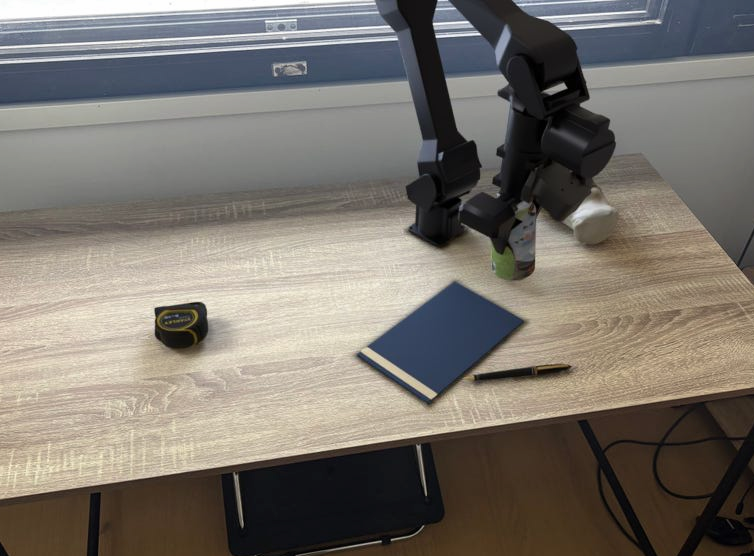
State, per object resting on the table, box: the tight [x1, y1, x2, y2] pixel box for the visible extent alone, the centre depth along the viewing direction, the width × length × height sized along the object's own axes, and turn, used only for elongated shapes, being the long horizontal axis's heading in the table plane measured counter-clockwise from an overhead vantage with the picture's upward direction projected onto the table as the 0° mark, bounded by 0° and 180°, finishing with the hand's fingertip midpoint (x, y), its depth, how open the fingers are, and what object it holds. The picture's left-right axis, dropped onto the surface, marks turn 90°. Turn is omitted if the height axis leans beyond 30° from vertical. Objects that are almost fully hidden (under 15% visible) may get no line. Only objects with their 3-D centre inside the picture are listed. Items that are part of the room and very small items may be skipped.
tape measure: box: [153, 301, 209, 350], centre depth 95 cm, size 7×7×4 cm
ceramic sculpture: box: [540, 179, 621, 245], centre depth 111 cm, size 11×9×15 cm
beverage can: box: [490, 202, 537, 282], centre depth 99 cm, size 6×7×12 cm
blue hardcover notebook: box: [356, 281, 525, 405], centre depth 96 cm, size 12×20×1 cm, turn 136°
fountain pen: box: [462, 363, 573, 382], centre depth 91 cm, size 14×1×2 cm, turn 98°
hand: (511, 244), depth 100 cm, fingers closed on beverage can, 5 cm apart
